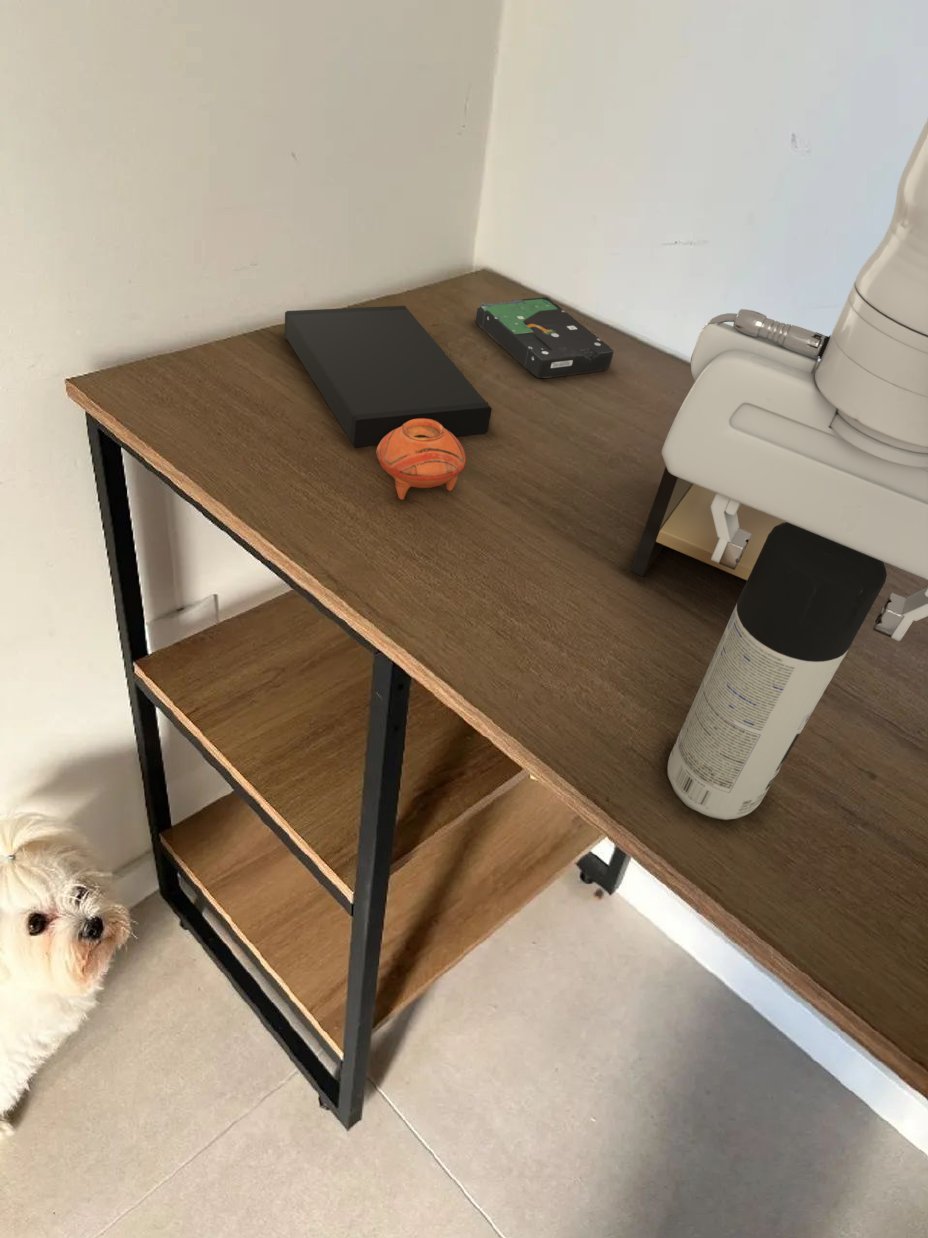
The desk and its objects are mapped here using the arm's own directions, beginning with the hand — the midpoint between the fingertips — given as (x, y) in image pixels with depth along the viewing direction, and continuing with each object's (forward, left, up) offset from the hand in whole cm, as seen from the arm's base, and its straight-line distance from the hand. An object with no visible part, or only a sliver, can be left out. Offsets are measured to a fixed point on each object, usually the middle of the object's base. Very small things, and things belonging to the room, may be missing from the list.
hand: (804, 594), depth 52 cm
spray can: (0, 0, -17) cm, 17 cm away
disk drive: (+38, -52, -17) cm, 67 cm away
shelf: (+6, -26, -17) cm, 32 cm away
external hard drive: (+47, -31, -17) cm, 59 cm away
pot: (+34, -17, -17) cm, 42 cm away
